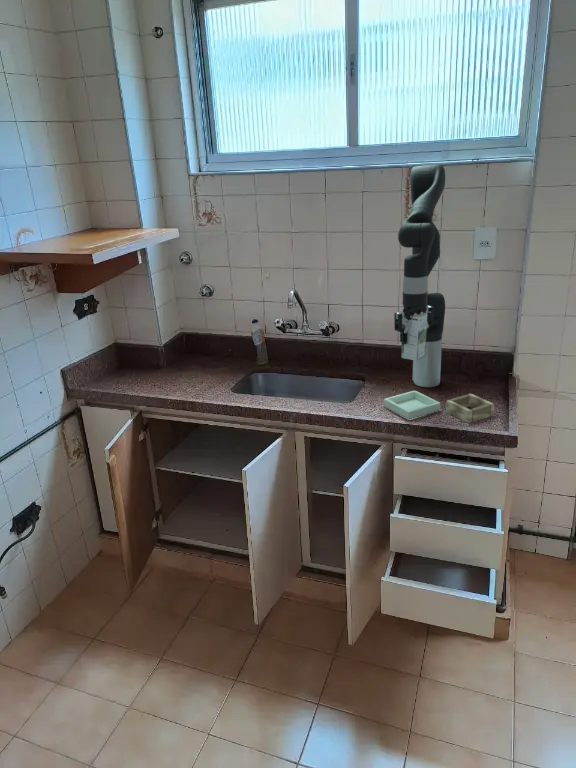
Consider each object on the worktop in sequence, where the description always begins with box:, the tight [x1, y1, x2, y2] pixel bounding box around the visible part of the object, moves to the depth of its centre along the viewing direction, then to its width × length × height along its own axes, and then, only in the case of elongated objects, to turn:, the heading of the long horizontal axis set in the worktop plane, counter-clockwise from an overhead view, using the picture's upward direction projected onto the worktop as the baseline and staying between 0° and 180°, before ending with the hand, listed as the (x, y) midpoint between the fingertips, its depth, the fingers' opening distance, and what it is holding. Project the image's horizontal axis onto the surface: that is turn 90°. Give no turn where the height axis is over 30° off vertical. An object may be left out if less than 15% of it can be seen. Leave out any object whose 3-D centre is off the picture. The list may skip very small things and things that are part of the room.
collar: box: [445, 393, 495, 424], centre depth 187 cm, size 10×10×4 cm
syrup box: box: [400, 313, 427, 361], centre depth 184 cm, size 6×6×14 cm
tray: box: [383, 390, 441, 419], centre depth 193 cm, size 13×13×3 cm
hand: (413, 341), depth 185 cm, fingers closed on syrup box, 7 cm apart
